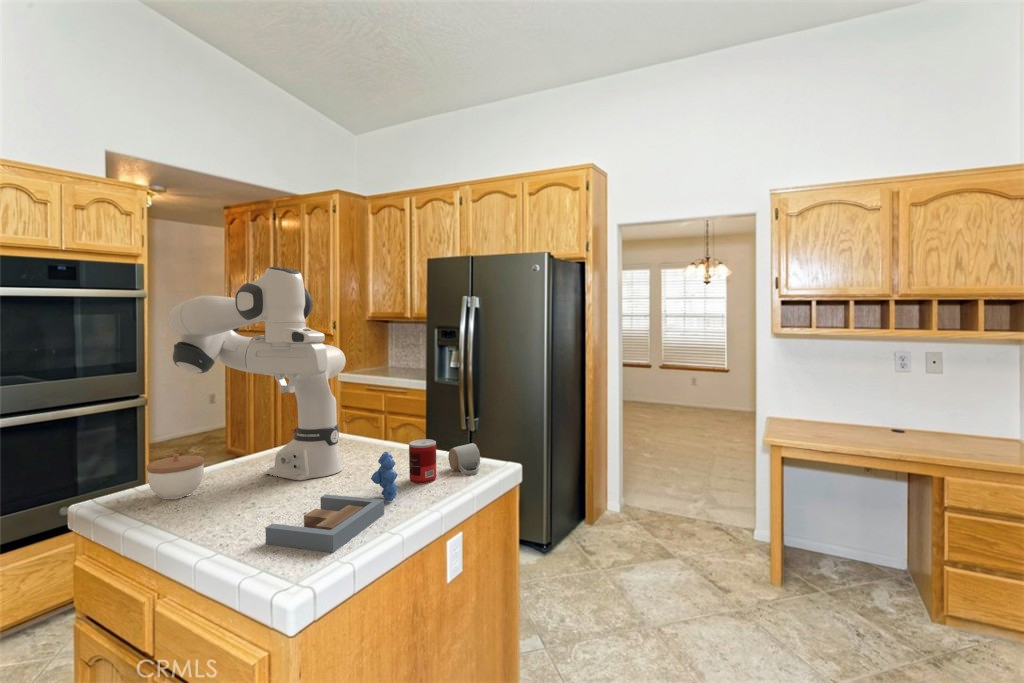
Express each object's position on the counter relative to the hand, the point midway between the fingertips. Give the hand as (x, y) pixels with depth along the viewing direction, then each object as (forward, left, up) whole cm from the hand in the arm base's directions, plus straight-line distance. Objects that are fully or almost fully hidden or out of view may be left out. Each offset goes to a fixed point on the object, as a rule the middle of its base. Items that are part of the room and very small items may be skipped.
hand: (287, 392), depth 117 cm
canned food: (+21, +30, -29) cm, 47 cm away
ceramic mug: (+30, +42, -29) cm, 59 cm away
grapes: (+18, +13, -29) cm, 37 cm away
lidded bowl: (-38, +3, -29) cm, 48 cm away
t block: (+15, -6, -29) cm, 33 cm away
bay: (+15, -6, -29) cm, 33 cm away
